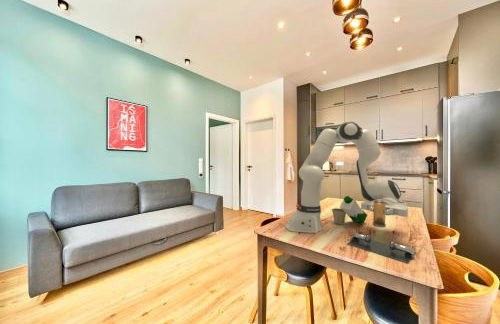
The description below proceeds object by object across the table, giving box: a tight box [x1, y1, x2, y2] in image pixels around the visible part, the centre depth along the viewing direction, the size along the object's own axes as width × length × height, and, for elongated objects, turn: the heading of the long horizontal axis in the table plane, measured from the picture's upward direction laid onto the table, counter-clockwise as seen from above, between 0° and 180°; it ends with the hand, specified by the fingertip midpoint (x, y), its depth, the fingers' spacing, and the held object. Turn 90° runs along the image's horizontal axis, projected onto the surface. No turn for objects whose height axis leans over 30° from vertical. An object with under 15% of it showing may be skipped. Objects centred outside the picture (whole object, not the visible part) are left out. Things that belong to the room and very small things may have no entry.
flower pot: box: [331, 208, 347, 225], centre depth 131 cm, size 9×9×9 cm
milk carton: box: [339, 195, 368, 225], centre depth 127 cm, size 9×9×20 cm
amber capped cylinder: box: [372, 200, 387, 228], centre depth 97 cm, size 5×5×12 cm
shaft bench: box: [346, 231, 417, 264], centre depth 93 cm, size 25×14×5 cm, turn 40°
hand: (378, 210), depth 97 cm, fingers closed on amber capped cylinder, 5 cm apart
